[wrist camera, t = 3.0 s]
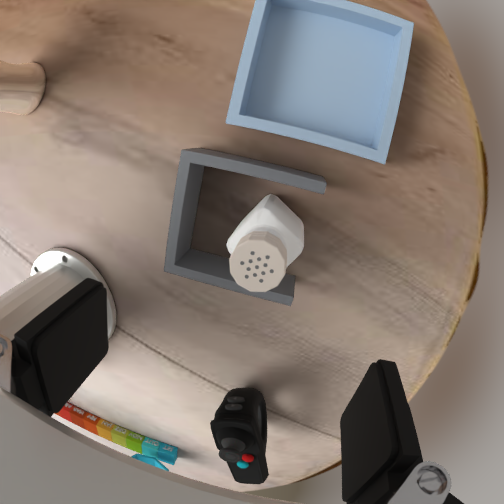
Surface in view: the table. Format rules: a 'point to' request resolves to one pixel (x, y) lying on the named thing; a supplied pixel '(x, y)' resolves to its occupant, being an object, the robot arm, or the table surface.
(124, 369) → the table surface
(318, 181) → the bay
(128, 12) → the table surface
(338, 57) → the tray
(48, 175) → the table surface
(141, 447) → the chart
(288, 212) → the salt shaker
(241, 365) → the table surface
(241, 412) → the controller
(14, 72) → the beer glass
